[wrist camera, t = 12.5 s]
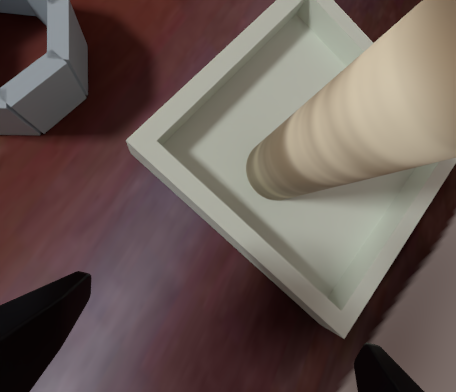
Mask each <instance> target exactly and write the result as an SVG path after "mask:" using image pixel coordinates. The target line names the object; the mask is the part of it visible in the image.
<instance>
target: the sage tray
mask: <svg viewBox="0 0 456 392" xmlns="http://www.w3.org/2000/svg"><path fill="white" fill-rule="evenodd" d="M372 44H373V42H372V41H371V40H370V39H369V38H368V37H367V36H366V35H365V34H364V33H363V31H362V30H361V29H360V28H359V27H358V26H357V25H356V24H355V23H354V22H353V21H352V20H351V19H350V18H349V16H348V15H347V14H346V13H345V12H344V11H343V10H342V9H341V8H340V7H339V6H338V5H337V4H336V3H335V1H334V0H276V1H275V2H274V3H273V4H272V5H271V6H270V7H269V8H268V9H267V10H266V11H264V12H263V13H262V14H261V15H260V16H259V17H258V18H257V19H256V20H255V21H254V22H253V23H252V24H250V25H249V26H248V27H247V28H246V29H245V30H244V31H243V32H242V33H241V34H240V35H239V36H238V37H236V38H235V39H234V40H233V41H232V42H231V43H230V44H229V45H228V46H227V47H226V48H225V49H224V50H222V51H221V52H220V53H219V54H218V55H217V56H216V57H215V58H214V59H213V60H212V61H211V62H210V63H208V64H207V65H206V66H205V67H204V68H203V69H202V70H201V71H200V72H199V73H198V74H197V75H196V76H194V77H193V78H192V79H191V80H190V81H189V82H188V83H187V84H186V85H185V86H184V87H183V88H182V89H180V90H179V91H178V92H177V93H176V94H175V95H174V96H173V97H172V98H171V99H170V100H169V101H168V102H166V103H165V104H164V105H163V106H162V107H161V108H160V109H159V110H158V111H157V112H156V113H155V114H154V115H152V116H151V117H150V118H149V119H148V120H147V121H146V122H145V123H144V124H143V125H142V126H141V127H140V128H139V129H137V130H136V131H135V132H134V133H133V134H132V135H131V136H130V137H129V138H128V139H127V140H126V143H127V145H128V148H129V150H130V153H131V154H132V155H133V156H134V157H135V158H136V159H137V160H139V161H140V162H141V163H142V164H143V165H144V166H145V167H146V168H147V169H149V170H150V171H151V172H152V173H153V174H154V175H155V176H156V177H157V178H158V179H160V180H161V181H162V182H163V183H164V184H165V185H166V186H167V187H168V188H170V189H171V190H172V191H173V192H174V193H175V194H176V195H177V196H178V197H180V198H181V199H182V200H183V201H184V202H185V203H186V204H187V205H188V206H189V207H191V208H192V209H193V210H194V211H195V212H196V213H197V214H198V215H199V216H201V217H202V218H203V219H204V220H205V221H206V222H207V223H208V224H209V225H210V226H212V227H213V228H214V229H215V230H216V231H217V232H218V233H219V234H220V235H222V236H223V237H224V238H225V239H226V240H227V241H228V242H229V243H230V244H231V245H233V246H234V247H235V248H236V249H237V250H238V251H239V252H240V253H241V254H243V255H244V256H245V257H246V258H247V259H248V260H249V261H250V262H251V263H252V264H254V265H255V266H256V267H257V268H258V269H259V270H260V271H261V272H262V273H264V274H265V275H266V276H267V277H268V278H269V279H270V280H271V281H272V282H273V283H275V284H276V285H277V286H278V287H279V288H280V289H281V290H282V291H283V292H285V293H286V294H287V295H288V296H289V297H290V298H291V299H292V300H293V301H295V302H296V303H297V304H298V305H299V306H300V307H301V308H302V309H303V310H304V311H306V312H307V313H308V314H309V315H310V316H311V317H312V318H313V319H314V320H316V321H317V322H318V323H319V324H320V325H322V326H323V327H325V328H327V329H328V330H330V331H332V332H333V333H335V334H337V335H339V336H340V337H342V338H344V339H345V337H346V335H347V334H348V332H349V331H350V329H351V328H352V326H353V324H354V323H355V321H356V320H357V318H358V317H359V315H360V313H361V312H362V310H363V309H364V307H365V306H366V304H367V302H368V301H369V299H370V298H371V296H372V294H373V293H374V291H375V290H376V288H377V287H378V285H379V283H380V282H381V280H382V279H383V277H384V276H385V274H386V272H387V271H388V269H389V268H390V266H391V264H392V263H393V261H394V260H395V258H396V257H397V255H398V253H399V252H400V250H401V249H402V247H403V246H404V244H405V242H406V241H407V239H408V238H409V236H410V235H411V233H412V231H413V230H414V228H415V227H416V225H417V223H418V222H419V220H420V219H421V217H422V216H423V214H424V212H425V211H426V209H427V208H428V206H429V205H430V203H431V201H432V200H433V198H434V197H435V195H436V193H437V192H438V190H439V189H440V187H441V186H442V184H443V182H444V181H445V179H446V178H447V176H448V175H449V173H450V171H451V170H452V168H453V167H454V165H455V164H456V158H452V159H448V160H444V161H440V162H436V163H432V164H428V165H423V166H419V167H415V168H411V169H407V170H403V171H399V172H395V173H391V174H387V175H382V176H378V177H374V178H370V179H366V180H362V181H358V182H354V183H350V184H345V185H341V186H337V187H333V188H329V189H325V190H321V191H317V192H313V193H309V194H304V195H300V196H296V197H292V198H288V199H284V200H278V201H277V200H269V199H266V198H264V197H262V196H261V195H259V194H258V193H257V192H256V191H255V190H254V189H253V188H252V186H251V185H250V183H249V180H248V178H247V173H246V163H247V159H248V156H249V154H250V153H251V151H252V150H253V149H254V148H255V147H256V146H257V145H258V144H259V143H260V142H261V141H263V140H264V139H265V138H266V137H267V136H268V135H269V134H271V133H272V132H273V131H274V130H275V129H276V128H277V127H279V126H280V125H281V124H282V123H283V122H284V121H285V120H287V119H288V118H289V117H290V116H291V115H292V114H293V113H294V112H296V111H297V110H298V109H299V108H300V107H301V106H302V105H304V104H305V103H306V102H307V101H308V100H309V99H310V98H312V97H313V96H314V95H315V94H316V93H317V92H318V91H320V90H321V89H322V88H323V87H324V86H325V85H326V84H328V83H329V82H330V81H331V80H332V79H333V78H334V77H336V76H337V75H338V74H339V73H340V72H341V71H342V70H344V69H345V68H346V67H347V66H348V65H349V64H350V63H352V62H353V61H354V60H355V59H356V58H357V57H358V56H360V55H361V54H362V53H363V52H364V51H365V50H366V49H368V48H369V47H370V46H371V45H372Z"/></svg>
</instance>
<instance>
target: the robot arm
mask: <svg viewBox="0 0 456 392" xmlns="http://www.w3.org/2000/svg"><path fill="white" fill-rule="evenodd" d="M90 294H91V275H90V274H89V273H85V272H80V271H77V272H74V273H72V274H70V275H68V276H65V277H63V278H61V279H59V280H56V281H54V282H52V283H50V284H47V285H45V286H43V287H41V288H38V289H36V290H34V291H32V292H29V293H27V294H25V295H23V296H20V297H18V298H16V299H14V300H11V301H9V302H7V303H5V304H2V305H0V392H30V390H31V389H32V387H33V386H34V385H35V383H36V382H37V380H38V379H39V378H40V376H41V375H42V374H43V372H44V371H45V369H46V368H47V367H48V365H49V364H50V362H51V361H52V360H53V358H54V357H55V355H56V354H57V353H58V351H59V350H60V348H61V347H62V345H63V343H64V342H65V340H66V339H67V337H68V335H69V333H70V332H71V330H72V328H73V326H74V325H75V323H76V321H77V320H78V318H79V316H80V314H81V313H82V311H83V309H84V307H85V306H86V304H87V302H88V300H89V298H90ZM354 369H355V376H356V382H357V388H358V392H424V391H423V390H422V389H421V388H420V387H419V386H418V385H417V384H416V383H415V382H414V381H413V380H412V379H411V378H410V377H409V376H408V375H407V373H405V371H404V370H402V368H401V367H400V366H399V365H398V364H397V363H396V362H395V361H394V360H393V359H392V358H391V357H390V356H389V355H388V354H387V353H386V352H385V351H384V350H383V349H382V348H381V347H380V346H378V345H375V344H371V343H365V344H364V345H363V347H362V348H361V350H360V352H359V354H358V355H357V357H356V359H355V362H354Z"/></svg>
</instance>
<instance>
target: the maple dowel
mask: <svg viewBox="0 0 456 392" xmlns="http://www.w3.org/2000/svg"><path fill="white" fill-rule="evenodd" d="M452 158H456V0H423V1H422V2H420V3H419V4H418V5H417V6H416V7H414V8H413V9H412V10H411V11H410V12H409V13H408V14H406V15H405V16H404V17H403V18H402V19H401V20H400V21H398V22H397V23H396V24H395V25H394V26H393V27H392V28H390V29H389V30H388V31H387V32H386V33H385V34H384V35H382V36H381V37H380V38H379V39H378V40H377V41H376V42H374V43H373V44H372V45H371V46H370V47H369V48H368V49H366V50H365V51H364V52H363V53H362V54H361V55H360V56H358V57H357V58H356V59H355V60H354V61H353V62H352V63H350V64H349V65H348V66H347V67H346V68H345V69H344V70H342V71H341V72H340V73H339V74H338V75H337V76H336V77H334V78H333V79H332V80H331V81H330V82H329V83H328V84H326V85H325V86H324V87H323V88H322V89H321V90H320V91H318V92H317V93H316V94H315V95H314V96H313V97H312V98H310V99H309V100H308V101H307V102H306V103H305V104H304V105H302V106H301V107H300V108H299V109H298V110H297V111H296V112H294V113H293V114H292V115H291V116H290V117H289V118H288V119H287V120H285V121H284V122H283V123H282V124H281V125H280V126H279V127H277V128H276V129H275V130H274V131H273V132H272V133H271V134H269V135H268V136H267V137H266V138H265V139H264V140H263V141H261V142H260V143H259V144H258V145H257V146H256V147H255V148H254V149H253V150H252V151H251V153H250V154H249V156H248V159H247V163H246V173H247V178H248V180H249V183H250V185H251V186H252V188H253V189H254V190H255V191H256V192H257V193H258V194H259V195H261V196H262V197H264V198H266V199H269V200H277V201H278V200H284V199H288V198H292V197H296V196H300V195H304V194H309V193H313V192H317V191H321V190H325V189H329V188H333V187H337V186H341V185H345V184H350V183H354V182H358V181H362V180H366V179H370V178H374V177H378V176H382V175H387V174H391V173H395V172H399V171H403V170H407V169H411V168H415V167H419V166H423V165H428V164H432V163H436V162H440V161H444V160H448V159H452Z"/></svg>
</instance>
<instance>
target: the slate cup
mask: <svg viewBox="0 0 456 392" xmlns="http://www.w3.org/2000/svg"><path fill="white" fill-rule="evenodd" d="M0 12H1V13H11V14H20V15H30V16H36V17H38V18H39V19H40V20H41V21H42V22H43V23H44V24H45V25H46V26H47V53H46V54H45V55H43V56H42V57H41V58H39V59H38V60H37V61H35V62H34V63H33V64H31V65H30V66H29V67H27V68H26V69H25V70H23V71H22V72H21V73H19V74H18V75H17V76H15V77H14V78H13V79H11V80H10V81H9V82H7V83H6V84H5V85H3V86H2V87H1V88H0V135H40V131H41V132H42V133H43V134H45V133H46V132H47V131H48V130H49V129H51V128H52V127H53V126H54V125H55V124H57V123H58V122H59V121H60V120H61V119H63V118H64V117H65V116H66V115H67V114H69V113H70V112H71V111H72V110H73V109H74V108H76V107H77V106H78V105H79V104H80V103H82V102H83V101H84V100H85V99H86V96H85V95H88V46H87V43H86V41H85V38H84V36H83V33H82V31H81V28H80V25H79V23H78V20H77V18H76V15H75V13H74V10H73V8H72V5H71V3H70V0H0Z"/></svg>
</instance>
